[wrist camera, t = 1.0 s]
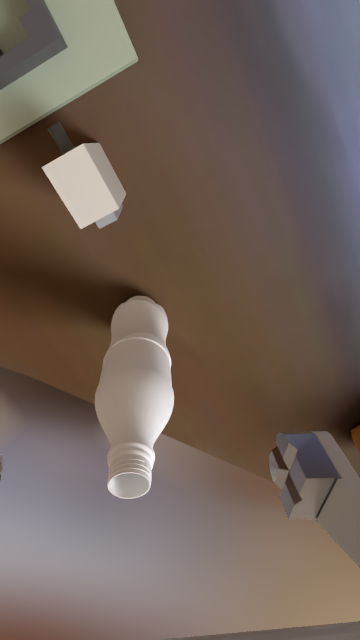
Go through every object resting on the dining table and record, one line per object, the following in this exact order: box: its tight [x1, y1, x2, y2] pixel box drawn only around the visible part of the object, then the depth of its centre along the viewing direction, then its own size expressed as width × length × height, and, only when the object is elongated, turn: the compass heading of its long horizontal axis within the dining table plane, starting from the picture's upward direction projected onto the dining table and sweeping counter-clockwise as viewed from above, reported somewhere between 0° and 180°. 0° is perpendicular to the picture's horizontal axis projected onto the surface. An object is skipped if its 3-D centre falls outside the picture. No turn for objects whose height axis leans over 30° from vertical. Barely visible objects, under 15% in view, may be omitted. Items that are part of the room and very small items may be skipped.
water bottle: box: [95, 296, 174, 499], centre depth 33 cm, size 7×7×25 cm
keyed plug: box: [41, 122, 126, 229], centre depth 31 cm, size 4×9×9 cm, turn 25°
